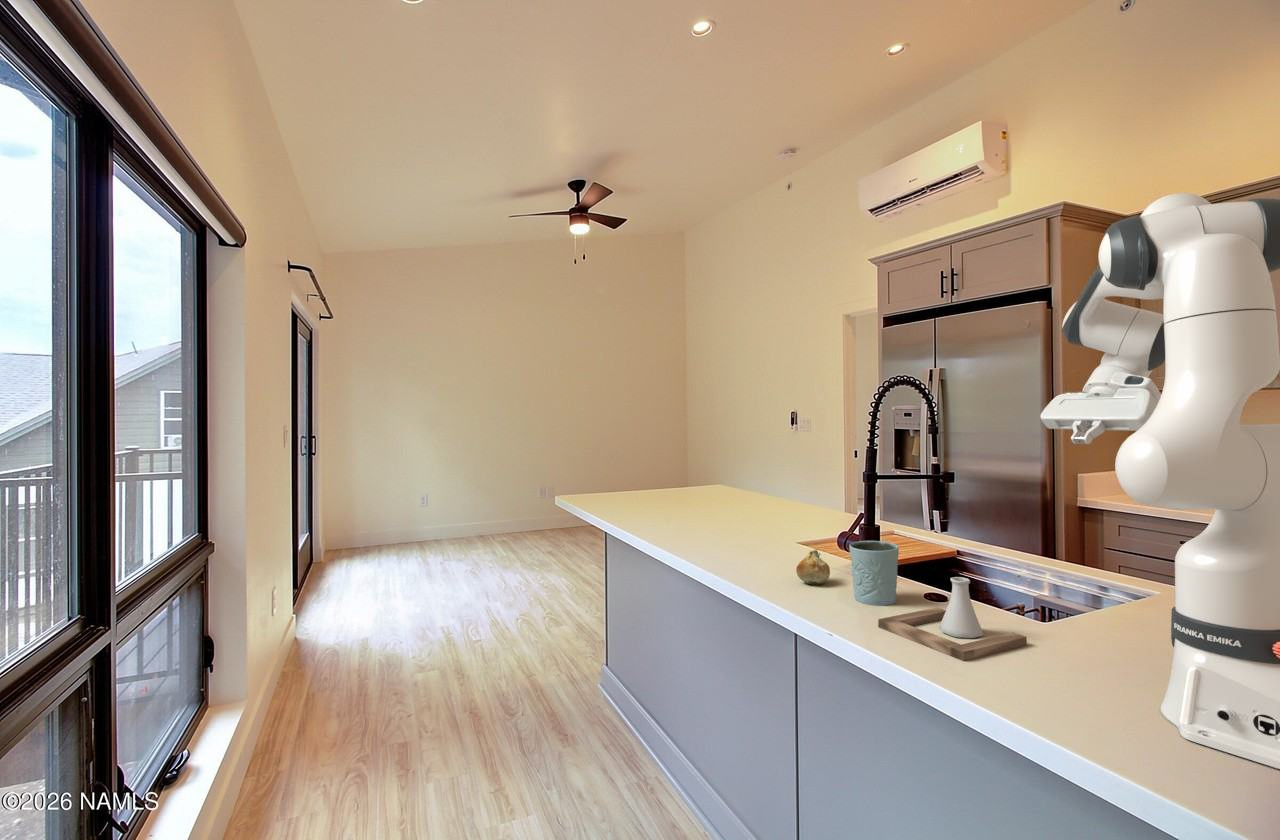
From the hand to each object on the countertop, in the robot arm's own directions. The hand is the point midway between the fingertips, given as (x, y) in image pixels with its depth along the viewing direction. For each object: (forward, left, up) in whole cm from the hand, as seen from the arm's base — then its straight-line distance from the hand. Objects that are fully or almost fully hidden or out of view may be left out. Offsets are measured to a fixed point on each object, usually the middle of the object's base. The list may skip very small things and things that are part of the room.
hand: (1079, 441), depth 128 cm
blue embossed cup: (+27, +27, -35) cm, 52 cm away
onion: (+44, +30, -35) cm, 64 cm away
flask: (+4, +28, -35) cm, 45 cm away
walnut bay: (+4, +32, -34) cm, 47 cm away
